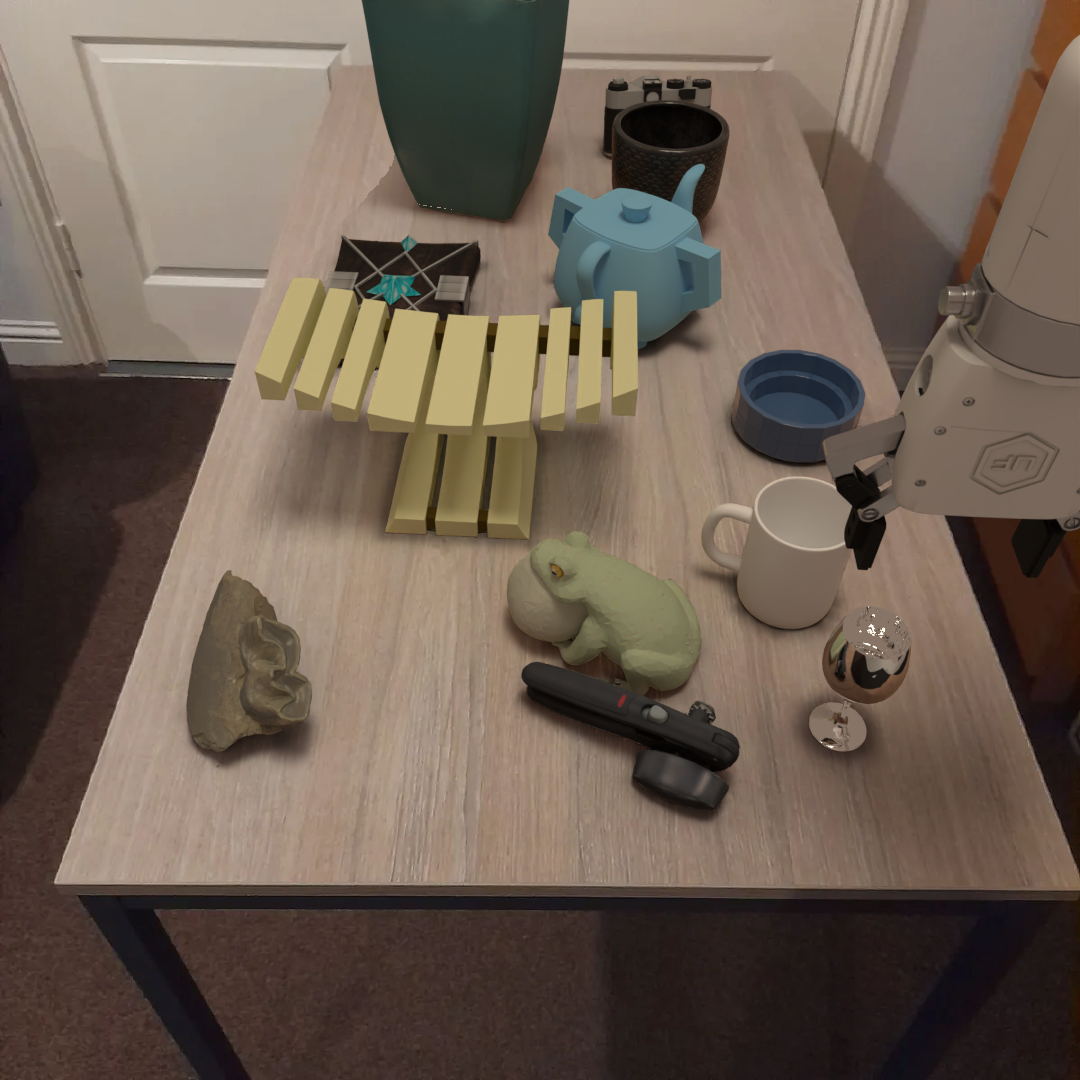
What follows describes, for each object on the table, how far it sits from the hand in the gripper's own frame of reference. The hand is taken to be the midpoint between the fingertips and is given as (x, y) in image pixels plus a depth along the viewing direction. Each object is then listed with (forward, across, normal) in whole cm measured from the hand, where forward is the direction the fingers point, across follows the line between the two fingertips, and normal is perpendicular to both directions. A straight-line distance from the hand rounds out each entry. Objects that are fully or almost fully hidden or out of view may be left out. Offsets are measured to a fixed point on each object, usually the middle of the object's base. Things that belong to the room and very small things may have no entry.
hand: (940, 556), depth 60 cm
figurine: (+22, -19, +10) cm, 31 cm away
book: (+23, -43, +55) cm, 73 cm away
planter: (+22, -12, +77) cm, 81 cm away
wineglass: (+22, -1, +2) cm, 23 cm away
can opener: (+22, -17, 0) cm, 28 cm away
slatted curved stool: (+23, -32, +29) cm, 49 cm away
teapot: (+22, -16, +57) cm, 64 cm away
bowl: (+22, 0, +38) cm, 44 cm away
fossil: (+19, -43, +5) cm, 47 cm away
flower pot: (+23, -36, +83) cm, 93 cm away
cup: (+22, -5, +16) cm, 28 cm away
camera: (+23, -13, +99) cm, 103 cm away
